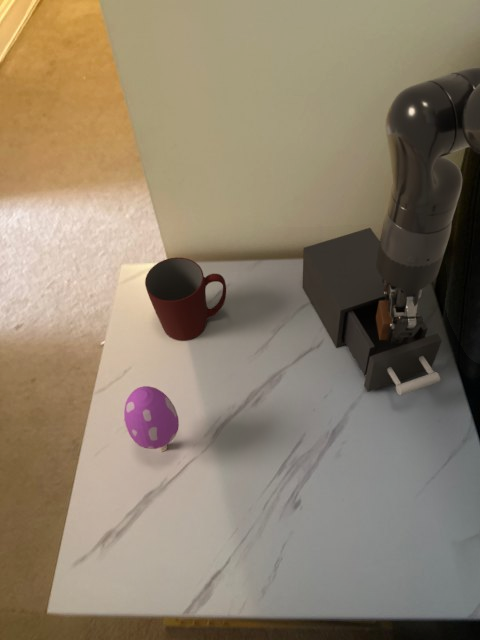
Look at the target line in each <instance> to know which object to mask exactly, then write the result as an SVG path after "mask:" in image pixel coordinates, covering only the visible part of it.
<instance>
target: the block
mask: <svg viewBox="0 0 480 640" xmlns="http://www.w3.org/2000/svg"><path fill="white" fill-rule="evenodd" d="M388 305H389V300H382V301H379V304H378V309H377V314H376V323H377V328H378V334H379V340H387V335H388V331H389V327H390V320H391V316H390V315H389V311H388ZM395 307H396V306H395ZM396 320H399V317H397V319H396ZM404 339H409V337H405V338H404Z"/></svg>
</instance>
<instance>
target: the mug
mask: <svg viewBox="0 0 480 640" xmlns="http://www.w3.org/2000/svg"><path fill="white" fill-rule="evenodd" d="M214 282H215V283H216V282H217V283H221V285H222V292H221V296H220V299H219V300H218V302H217V303H216V304H215V305H214V306H213V307H211V308H209V307H208V305H207V293H206V289H207V286H208V284H210V283H214ZM144 285H145V289H146V292H147V295H148V298H149V300H150V302H151V305H152V307H153V309H154V312H155V314H156V316H157V318H158V321H159V323H160V325H161V327H162V329H163V331H164V333H165V335H167V336H168V337H169V338H171V339H172V340H175V341H183V342H184V341H190V340H193V339H195V338H197V337H198V336H200V335H201V334H202V333H203V332H204V331H205V329H206V327H207V324H208V319H210V318H212V317H214V316H215V315H217V314H218V313H219V312H220V311H221V309H222V307H223V306H224V304H225V301H226V298H227V284H226V280H225V278H224V277H223V275H221V274H219V273H210V274H208V275H206V276H204V272H203V269H202V267H201V266H200V264H198V263H197V262H196V261H194V260H192V259H190V258H188V257H187V258H186V257H170V258H167V259H163V260H161V261H159V262H158V263H156V264H154V265H153V266H152V267H150V269H149V270H148V272H147V273H146V276H145V280H144Z"/></svg>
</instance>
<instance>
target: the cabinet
mask: <svg viewBox="0 0 480 640" xmlns="http://www.w3.org/2000/svg"><path fill="white" fill-rule="evenodd" d="M379 244H380V239H379V238H378V237H377V235H376V233H375V232H374V231H373V230H372V228H371V227H367V228H364V229H360V230H357V231H354V232H351V233H348V234H344V235H341V236H338V237H334V238H332V239H328V240H325V241H321V242H318V243H315V244H311V245H309V246H305V247H303V248H302V249H303V251H302V255H303V256H302V286H301V287H302V289H303V291H304V293H305V295H306V296H307V298H308V300H309V303H310V304H311V306H312V307H313V309H314V311H315V313H316V314H317V317H318V318H319V320H320V321H321V324H322V325H323V327H324V328H325V331H326V332H327V334H328V336H329V338H330V340H331V341H332V343H333V345H334V347H335V348H336V349H338V348H341V347H344V346H347V345H346V343H345V341H344V339H343V338H342V332H343V324H344V316H345V312H347V311H350V310H353V309H356V308H359V307H362V306H365V305H368V304H371V303H374V302H378V301H381V300H384V299H385V297H384V294H383V292H384V285H383V282H382V279H383V278H382V277H381V275H380V274H379V272H378V270H377V266H376V261H377V255H378V250H379Z"/></svg>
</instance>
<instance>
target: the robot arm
mask: <svg viewBox="0 0 480 640" xmlns="http://www.w3.org/2000/svg"><path fill="white" fill-rule="evenodd" d="M384 128H385V134H386V139H387V145H388V146H387V147H388V152H389V158H390V159H389V160H390V168H391V175H392V186H391V191H390V196H389V201H388V206H387V211H386V214H385V216H384V219H383V223H382V227H381V234H380V239H379V241H380V244H379V250H378V255H377V261H376V266H377V270H378V272H379V274H380V275H381V277H382V278H383V279H382V282H383V285H384V292H383V294H384V297H385V300H389V305H388V311H389V315H390V316H391V320H390V327H389V331H388V335H387V341H388V343H391V344H397V343H402V342H403V341H404V338H405V337H413V336H414V335H415V334H416V332H417V331H418V330H419V329H420V327H421V326H422V323H423V322H424V318H423V316H422V315H419V314H418V312H417V311H418V306H419V299H421V298H422V293H423V289H424V288H426V287H428V286H429V285H430V284H432V283H433V282H434V281H435V280H436V278H437V277H438V275H439V273H440V269H441V265H442V262H443V259H444V255H445V252H446V249H447V245H448V242H449V239H450V236H451V231H452V224H453V219H454V215H455V212H456V209H457V207H458V202H459V198H460V195H461V192H462V187H463V175H462V171H461V169H460V167H459V166H458V164H456V163H455V162H454V161H453V160H451V159H449V158H447V157H446V156H448V155H450V154H453V153H455V152H459V151H461V150H463V149H468V148H470V149H472V150H473V151H474V152H475V153H476V154H478V155H480V66H475V67H468V68H464V69H460V70H457V71H453V72H450V73H447V74H444V75H441V76H437V77H435V78H432V79H429V80H426V81H422V82H419V83H416V84H412V85H410V86H408V87H406V88H404V89H402V90H401V91H400V92H399V93H398V94H397V95H396V96H395V98H394V99H393V100H392V102H391V104H390V106H389V107H388V111H387V112H386V116H385V125H384ZM395 306H396V307H395ZM416 313H417V314H418V315H416ZM397 317H399V320H396V319H397Z"/></svg>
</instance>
